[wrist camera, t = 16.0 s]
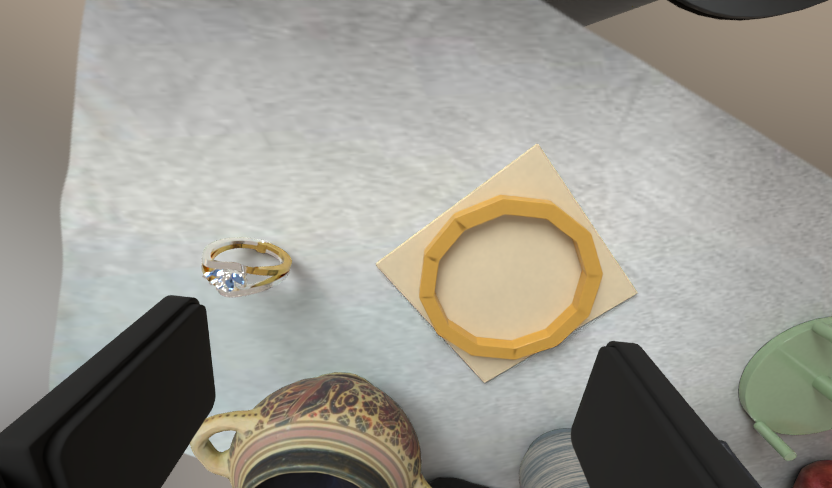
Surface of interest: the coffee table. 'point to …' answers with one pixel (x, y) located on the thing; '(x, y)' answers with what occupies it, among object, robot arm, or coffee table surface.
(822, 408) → the holder
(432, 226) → the mat
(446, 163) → the coffee table surface
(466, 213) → the ring
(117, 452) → the robot arm
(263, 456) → the ceramic bowl
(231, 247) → the ring
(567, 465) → the vase
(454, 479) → the gaming mouse
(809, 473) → the fruit
